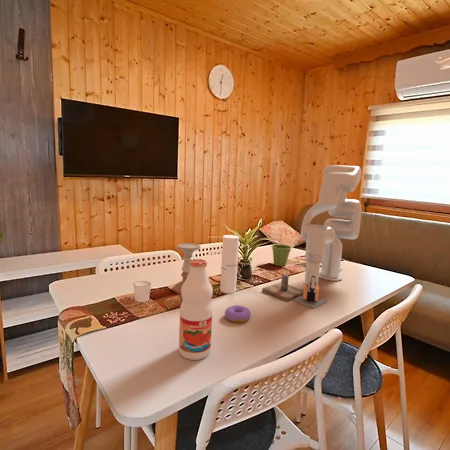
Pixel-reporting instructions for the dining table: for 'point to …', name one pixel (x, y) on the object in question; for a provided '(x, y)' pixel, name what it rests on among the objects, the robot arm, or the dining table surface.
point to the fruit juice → (196, 313)
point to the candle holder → (185, 262)
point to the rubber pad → (309, 302)
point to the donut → (237, 314)
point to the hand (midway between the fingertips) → (310, 297)
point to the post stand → (283, 290)
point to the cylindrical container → (229, 263)
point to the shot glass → (142, 291)
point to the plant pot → (280, 254)
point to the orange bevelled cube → (305, 290)
